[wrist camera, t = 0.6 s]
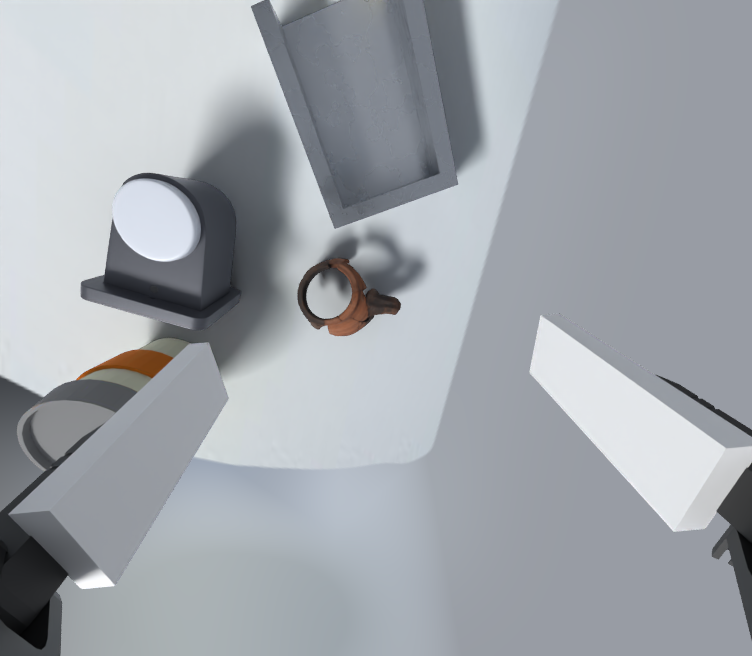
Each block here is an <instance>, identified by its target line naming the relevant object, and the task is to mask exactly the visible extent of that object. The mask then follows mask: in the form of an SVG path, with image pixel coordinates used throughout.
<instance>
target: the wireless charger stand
mask: <svg viewBox="0 0 752 656" xmlns="http://www.w3.org/2000/svg"><path fill="white" fill-rule="evenodd" d="M112 215H113V219H112V226H111V233H110V240H109V247H108V254H107V261H106V269H105V275H103V276H99V277H95V278H92V279H88V280H85V281H82V282H81V297H82V298H83V299H85V300H88V301H91V302H95V303H98V304H102V305H105V306H109V307H112V308H116V309H119V310H123V311H126V312H130V313H134V314H137V315H141V316H144V317H148V318H151V319H155V320H158V321H162V322H166V323H169V324H173V325H176V326H180V327H183V328H187V329H191V330H205V329H207V328H208V327H209V326H211V325H212V324H213V323H214V322H216V321H217V320H218V319H219V318H220V317H222V316H223V315H224V314H225V313H227V312H228V311H229V310H230V309H231V308H233V307H234V306H235V305H236V304H237V303H238V302H239V299H240V294H241V291H240V290H238V289H236V288H233V287H230V280H231V271H232V262H233V253H234V244H235V235H236V219H235V213H234V209H233V207H232V205H231V203H230V201H229V200H228V198H227V197H226V196H225V195H224V194H223V193H222V192H221V191H220V190H218V189H217V188H215V187H214V186H212V185H210V184H208V183H205V182H201V181H196V180H191V179H185V178H179V177H173V176H167V175H161V174H155V173H141V174H137V175H134V176H132V177H130V178H129V179H127V180H126V181H125V182H124V183H123V185H122V186H121V188H120V189H119V190H118V192H117V193H116V195H115V197H114V200H113V204H112Z"/></svg>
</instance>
